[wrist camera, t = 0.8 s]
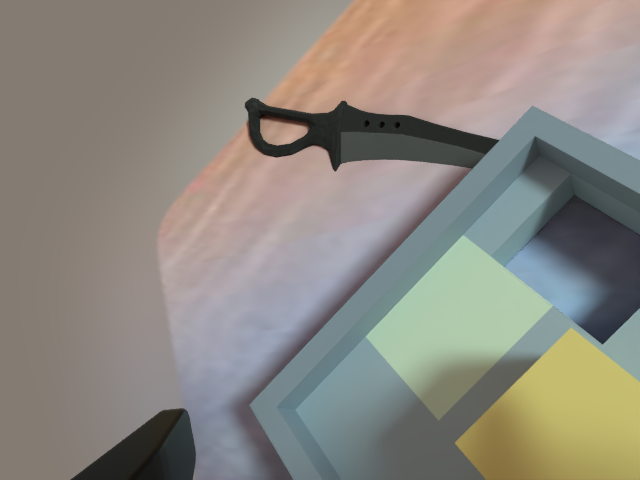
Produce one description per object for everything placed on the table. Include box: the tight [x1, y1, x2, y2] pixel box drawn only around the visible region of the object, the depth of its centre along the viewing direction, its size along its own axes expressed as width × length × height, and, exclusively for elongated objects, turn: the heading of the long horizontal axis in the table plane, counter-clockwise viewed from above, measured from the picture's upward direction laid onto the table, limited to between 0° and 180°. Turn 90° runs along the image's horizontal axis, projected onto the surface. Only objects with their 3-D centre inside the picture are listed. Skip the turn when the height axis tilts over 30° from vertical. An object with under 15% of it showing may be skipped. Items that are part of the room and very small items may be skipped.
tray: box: [249, 106, 640, 480], centre depth 16 cm, size 17×17×4 cm
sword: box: [245, 98, 499, 171], centre depth 25 cm, size 27×4×1 cm, turn 60°
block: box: [455, 328, 640, 480], centre depth 14 cm, size 4×4×4 cm
